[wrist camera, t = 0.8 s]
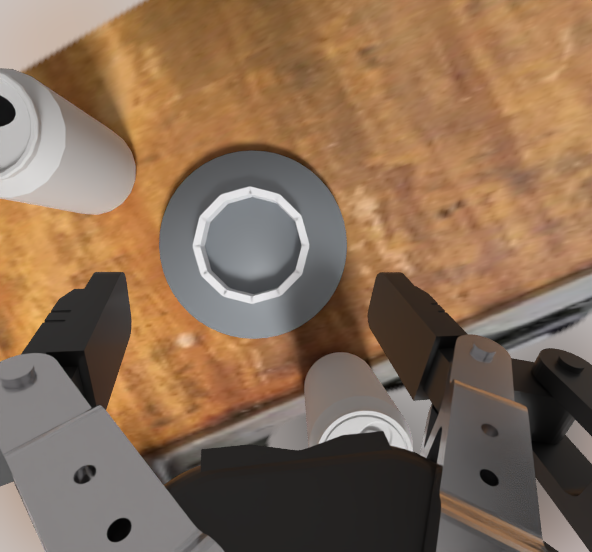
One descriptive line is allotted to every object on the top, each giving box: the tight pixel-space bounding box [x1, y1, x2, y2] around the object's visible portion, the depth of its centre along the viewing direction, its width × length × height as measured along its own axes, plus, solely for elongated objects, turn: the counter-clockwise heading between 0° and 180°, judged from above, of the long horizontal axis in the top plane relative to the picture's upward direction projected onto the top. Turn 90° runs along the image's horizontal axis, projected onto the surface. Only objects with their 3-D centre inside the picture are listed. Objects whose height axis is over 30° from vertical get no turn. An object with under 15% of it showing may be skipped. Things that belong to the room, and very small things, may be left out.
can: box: [0, 68, 136, 215], centre depth 26 cm, size 8×8×12 cm
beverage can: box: [304, 352, 413, 452], centre depth 27 cm, size 6×6×12 cm
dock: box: [159, 151, 347, 339], centre depth 31 cm, size 16×16×2 cm
